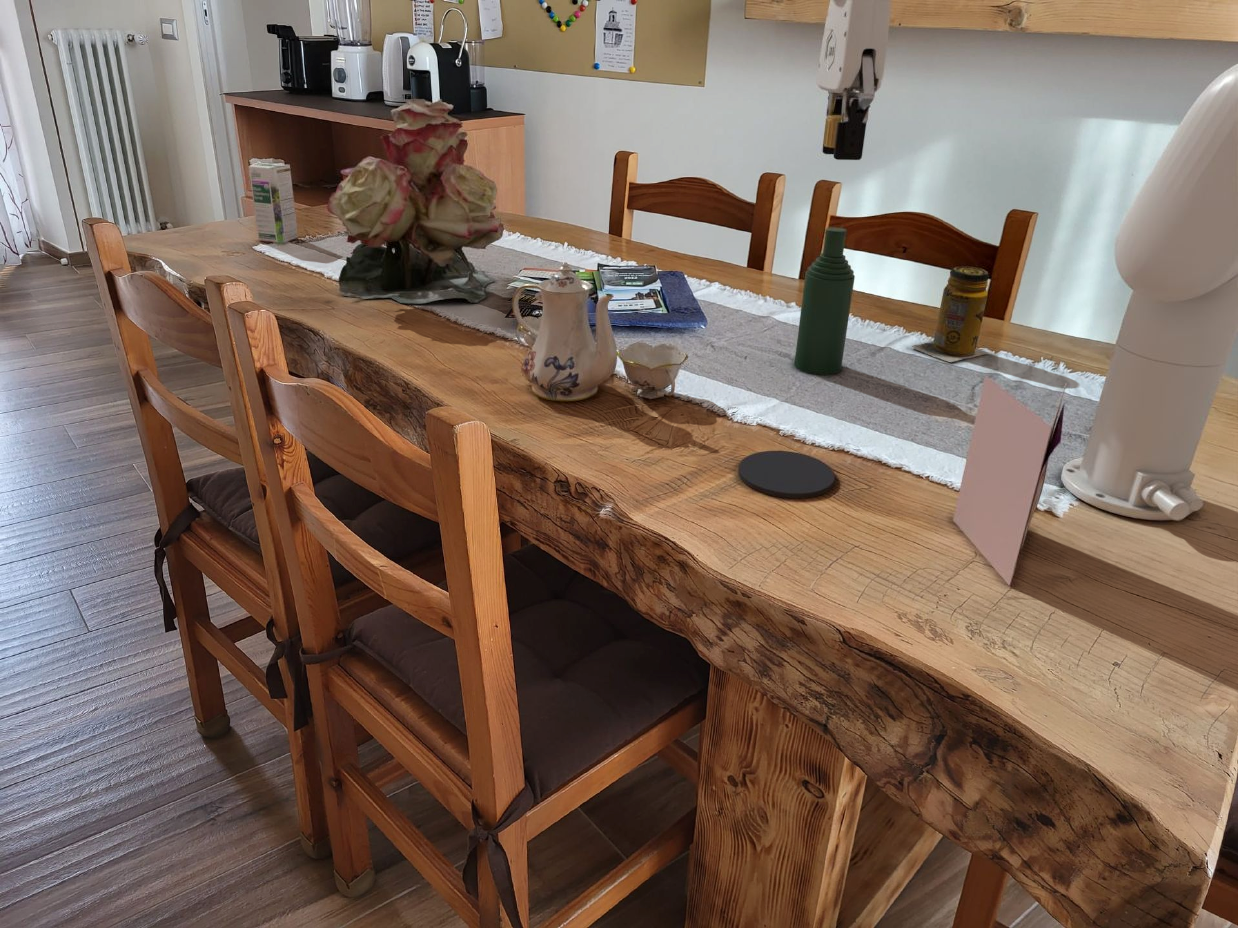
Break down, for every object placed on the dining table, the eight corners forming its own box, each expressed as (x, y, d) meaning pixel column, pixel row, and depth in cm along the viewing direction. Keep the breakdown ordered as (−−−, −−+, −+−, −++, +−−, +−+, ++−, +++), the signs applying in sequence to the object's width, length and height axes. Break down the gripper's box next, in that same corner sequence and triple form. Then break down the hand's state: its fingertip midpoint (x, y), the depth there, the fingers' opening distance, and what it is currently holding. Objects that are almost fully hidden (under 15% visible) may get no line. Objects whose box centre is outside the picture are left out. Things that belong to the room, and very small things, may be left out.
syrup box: (257, 241, 182) (246, 165, 175) (275, 235, 187) (265, 161, 180) (282, 244, 180) (272, 167, 174) (299, 238, 186) (290, 163, 179)
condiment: (987, 354, 134) (1005, 273, 129) (950, 363, 130) (967, 280, 124) (947, 339, 139) (963, 261, 134) (909, 348, 135) (924, 268, 130)
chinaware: (703, 402, 118) (720, 272, 112) (633, 431, 105) (647, 287, 99) (534, 355, 132) (541, 238, 126) (453, 376, 118) (456, 246, 112)
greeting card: (1020, 589, 78) (1063, 429, 72) (932, 564, 81) (965, 409, 75) (1037, 531, 87) (1076, 385, 81) (957, 511, 90) (989, 368, 84)
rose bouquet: (321, 303, 146) (298, 102, 132) (393, 260, 172) (380, 88, 158) (475, 317, 142) (467, 111, 129) (525, 271, 168) (523, 96, 155)
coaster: (846, 497, 92) (847, 492, 92) (749, 499, 91) (750, 494, 91) (818, 454, 101) (818, 449, 101) (729, 455, 100) (729, 451, 100)
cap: (821, 144, 109) (824, 114, 107) (854, 144, 109) (858, 115, 107) (826, 148, 105) (830, 118, 104) (861, 149, 105) (865, 118, 104)
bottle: (847, 374, 124) (868, 235, 116) (801, 375, 123) (819, 234, 115) (832, 358, 130) (851, 224, 121) (788, 359, 129) (804, 224, 121)
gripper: (809, -18, 107) (792, 147, 115) (853, -23, 92) (830, 167, 100) (872, -16, 107) (850, 148, 115) (926, -21, 92) (897, 168, 100)
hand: (841, 155), depth 107 cm, fingers closed on cap, 3 cm apart
